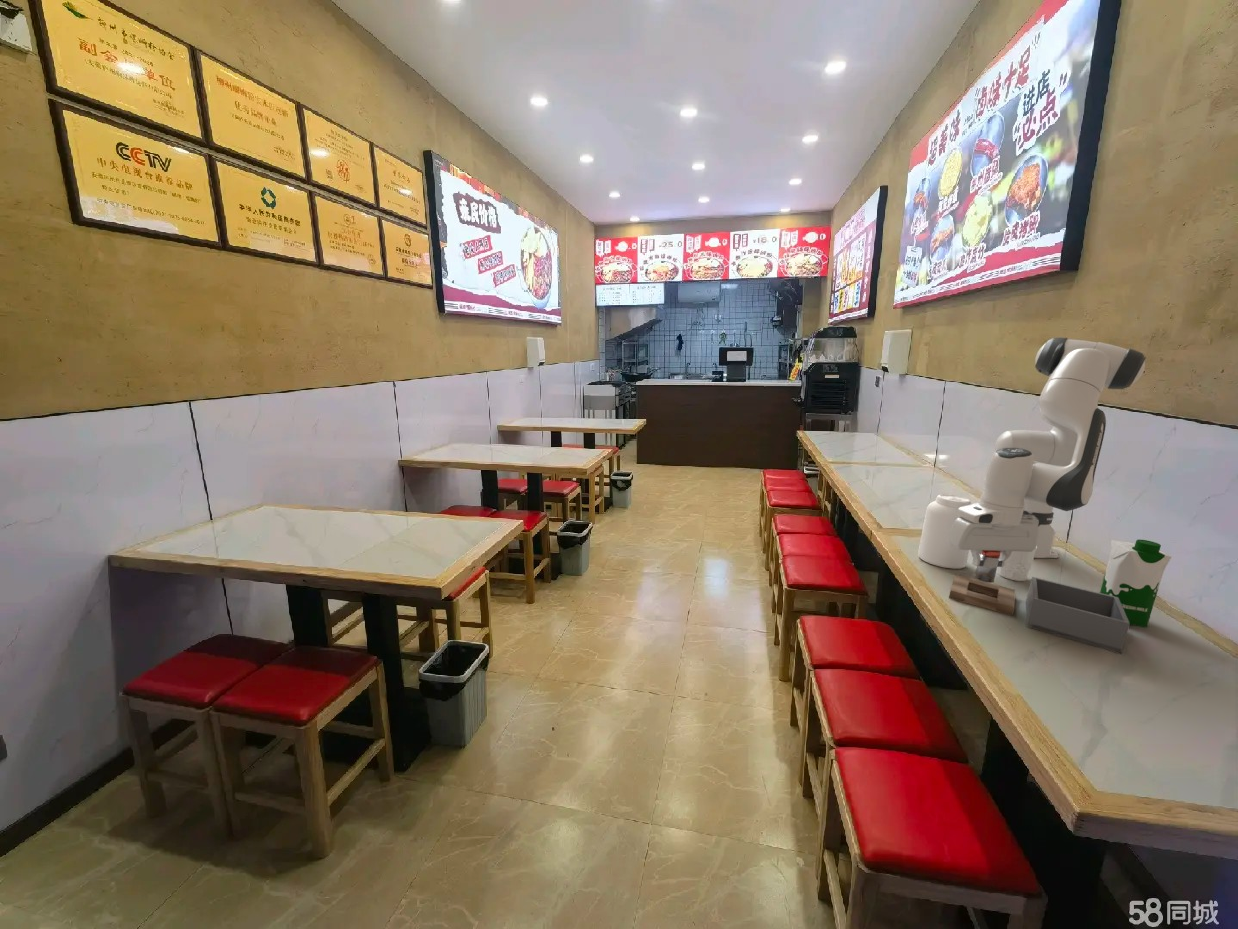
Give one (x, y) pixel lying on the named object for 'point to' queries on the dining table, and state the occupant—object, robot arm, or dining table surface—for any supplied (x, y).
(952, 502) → the can
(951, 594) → the socket block
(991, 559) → the red and grey cylinder
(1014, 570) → the white cup
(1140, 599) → the milk carton
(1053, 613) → the bin
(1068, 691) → the dining table surface
